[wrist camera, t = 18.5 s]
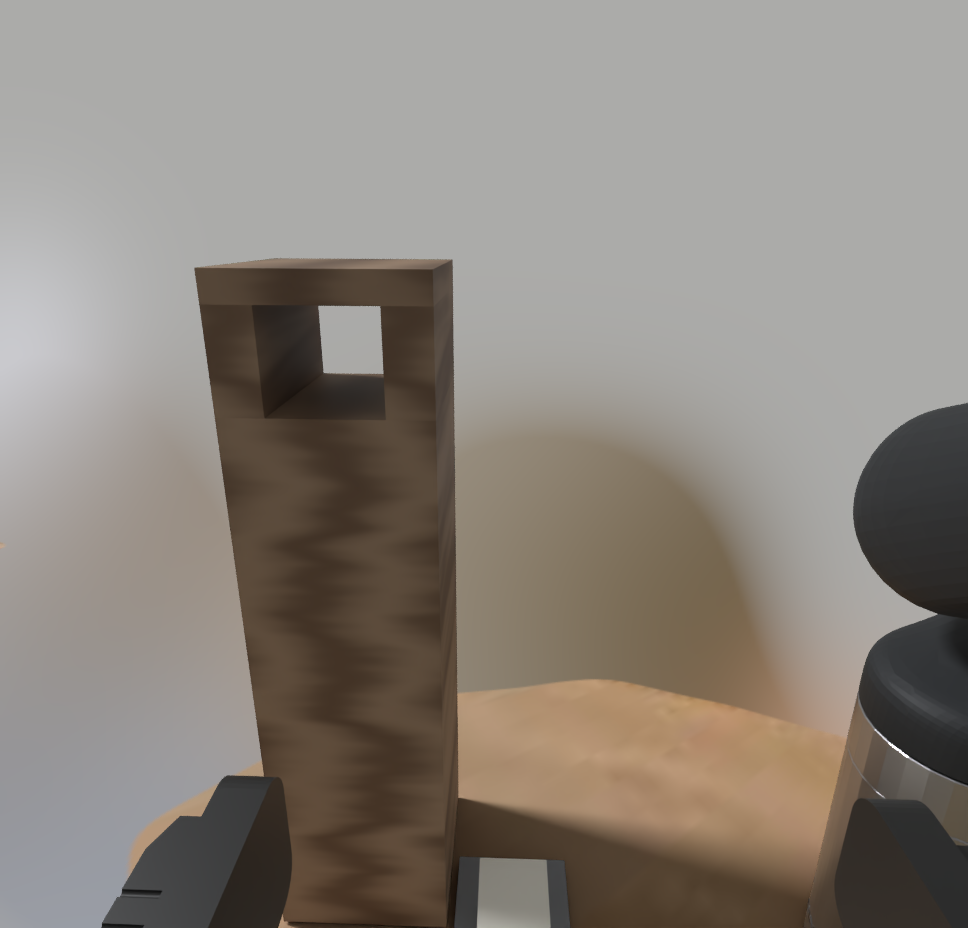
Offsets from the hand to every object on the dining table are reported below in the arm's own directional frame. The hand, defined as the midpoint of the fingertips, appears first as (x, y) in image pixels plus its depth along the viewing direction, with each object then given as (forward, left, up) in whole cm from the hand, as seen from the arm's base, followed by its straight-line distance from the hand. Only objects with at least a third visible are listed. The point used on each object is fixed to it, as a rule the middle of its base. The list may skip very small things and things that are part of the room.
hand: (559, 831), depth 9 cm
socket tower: (+9, -26, -32) cm, 42 cm away
